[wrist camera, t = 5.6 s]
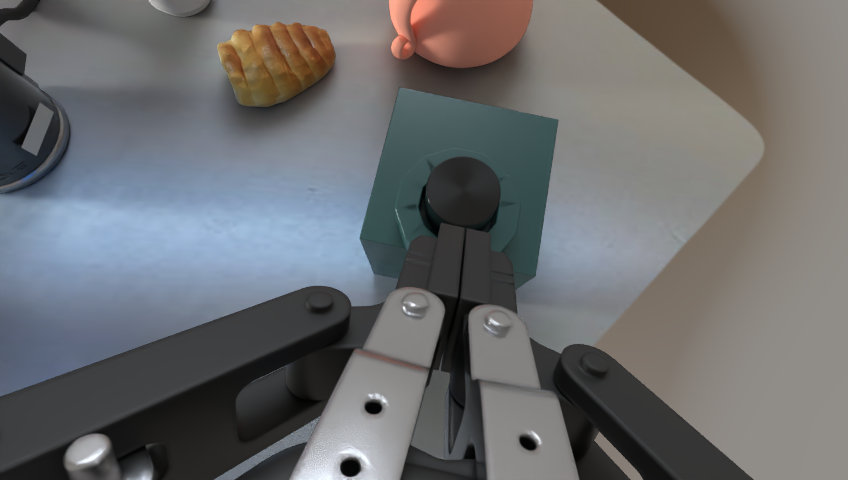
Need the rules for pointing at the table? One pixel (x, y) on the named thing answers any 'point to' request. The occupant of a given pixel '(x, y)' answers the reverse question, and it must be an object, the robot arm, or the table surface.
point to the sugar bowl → (458, 29)
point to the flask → (450, 137)
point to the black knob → (461, 194)
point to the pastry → (275, 62)
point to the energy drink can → (180, 6)
